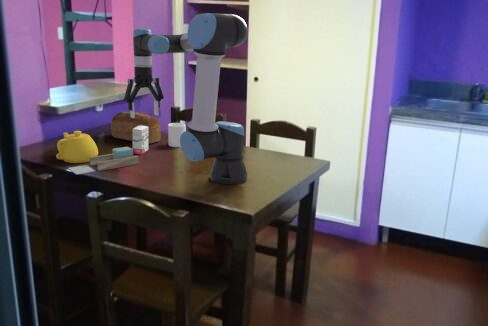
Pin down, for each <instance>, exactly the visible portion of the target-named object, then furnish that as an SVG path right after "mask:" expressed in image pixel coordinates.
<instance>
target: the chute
mask: <svg viewBox="0 0 488 326" xmlns="http://www.w3.org/2000/svg"><path fill="white" fill-rule="evenodd" d="M139 163H140V162H139V156H138V155H133V156H132V157H126V158H119V159H113V153H108V154H102V155H97V156H94V157H90V162H89V166H91V167H93V166H97V171H98V172H101V171H107V170H112V169H113V170H114V169H117V168H118V169H119V168H124V167H130V166H137V165H139Z"/></svg>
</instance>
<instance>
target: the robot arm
mask: <svg viewBox="0 0 488 326" xmlns="http://www.w3.org/2000/svg"><path fill="white" fill-rule="evenodd" d="M248 32H249V31H248V26H247V23H246V22H245V19H243V18H242V17H240V15H239V16H238V15H237V14H234V13H233V14H232V13H228V14H227V13H209V12H207V13H199V14H196V15H195V16H194V17H193V18H192V19H191V20H190V22H189V24H188V28H187V32H185V33H181V34H153V33H152V30H151V29H150V28H134V29H133V33H132V34H133V35H132V40H133V41H132V43H133V64H134V65H135V66H134V67H133V68H134V69H133V71H134V72H133V73H134V78H128V79H127V86H126V90H125V93H124V97H123V101H124V102H125V103H127V104H128V105H127V106H128V111H129V112H130V115H131V118H135V112H136V111H135V102H134V100H135V99H136V97H137V95H138V93H139V91H140V90H141V89H144V88H148V90H149V91H150V93H151V95H152V96H153V98H154V100H153V115H154V116H159V108H160V106H161V101H162V100H164V99H165V98H164V93H163V91H162V88H161V84H160V78H159V77H156V76H155V77H153V67H152V65H153V55H164V54H183V53H184V54H187V53H194V55H195V56H196V65H195V66H196V67H195V80H194V90H193V91H194V93H193V105H192V117H191V120H190V121H188V123H187V130H186V131H184V132H183V133H182V134H181V136H180V145H181V147H180V148H181V151H182V153H183V155H184V156H185V158H186V159H188V160H189V161H192V162H196V161H204V160H209V159H213V158H214V161H213V163H212V165H211V166H212V167H211V169H210V172H209V179H210V181H212V182H214V183H217V184H222V185H236V184H238V185H239V184H241V183H244V182H246V181H247V180H248V171H247V170H246V169H247V168H246V166H245V162H244V148H245V127H244V126H243V125H242V124H240V123H236V122H230V121H216V115H217V104H218V93H219V85H220V74H221V63H222V59H223V58H224V57H225V56H226V54H227V48H228V49H229V48H236V47H239V46H241V45H242V44H244V43H245V41H246V39H247V38H248ZM134 83H135V85H134ZM152 83H153V84H154V86H153V84H152ZM133 86H134V88H133ZM154 87H155V88H154Z"/></svg>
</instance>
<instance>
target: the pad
mask: <svg viewBox="0 0 488 326" xmlns="http://www.w3.org/2000/svg"><path fill="white" fill-rule="evenodd" d="M68 170H69V171H71V172H72V173H74V174H75V175H82V174H89V173H90V174H91V173H94V172H95V173H96V170H94V169H93V168H92V167H90V165H88V164H84V165H78V166H72V167H68Z"/></svg>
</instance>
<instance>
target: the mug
mask: <svg viewBox="0 0 488 326" xmlns="http://www.w3.org/2000/svg"><path fill="white" fill-rule="evenodd" d="M167 131H168V132H167V134H168V137H167V138H168V146H169V147H172V148H181V145H180V136H181V134H182V133H183V132H184V131H187V130H186V123H183V122H171V123H168V124H167Z"/></svg>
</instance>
